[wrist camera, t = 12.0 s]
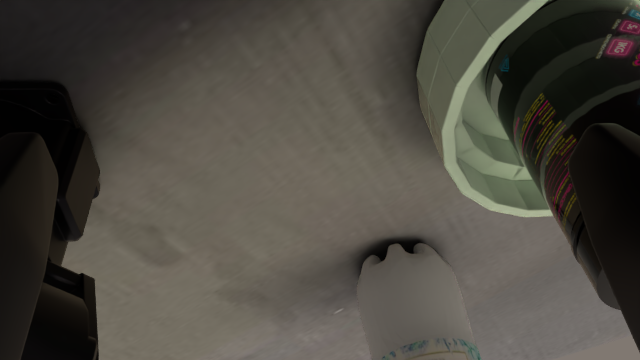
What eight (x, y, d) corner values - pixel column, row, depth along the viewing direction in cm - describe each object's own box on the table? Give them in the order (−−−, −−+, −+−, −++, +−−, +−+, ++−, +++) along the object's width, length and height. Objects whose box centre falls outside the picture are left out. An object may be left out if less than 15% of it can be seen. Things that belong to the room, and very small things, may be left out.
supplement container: (634, 83, 23) (815, 272, 16) (490, 137, 24) (596, 333, 17) (642, -53, 18) (904, 126, 11) (464, 23, 20) (593, 226, 13)
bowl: (390, 154, 25) (412, 222, 22) (457, -127, 16) (508, -80, 13) (615, 149, 27) (665, 211, 24) (787, -109, 18) (902, -63, 15)
